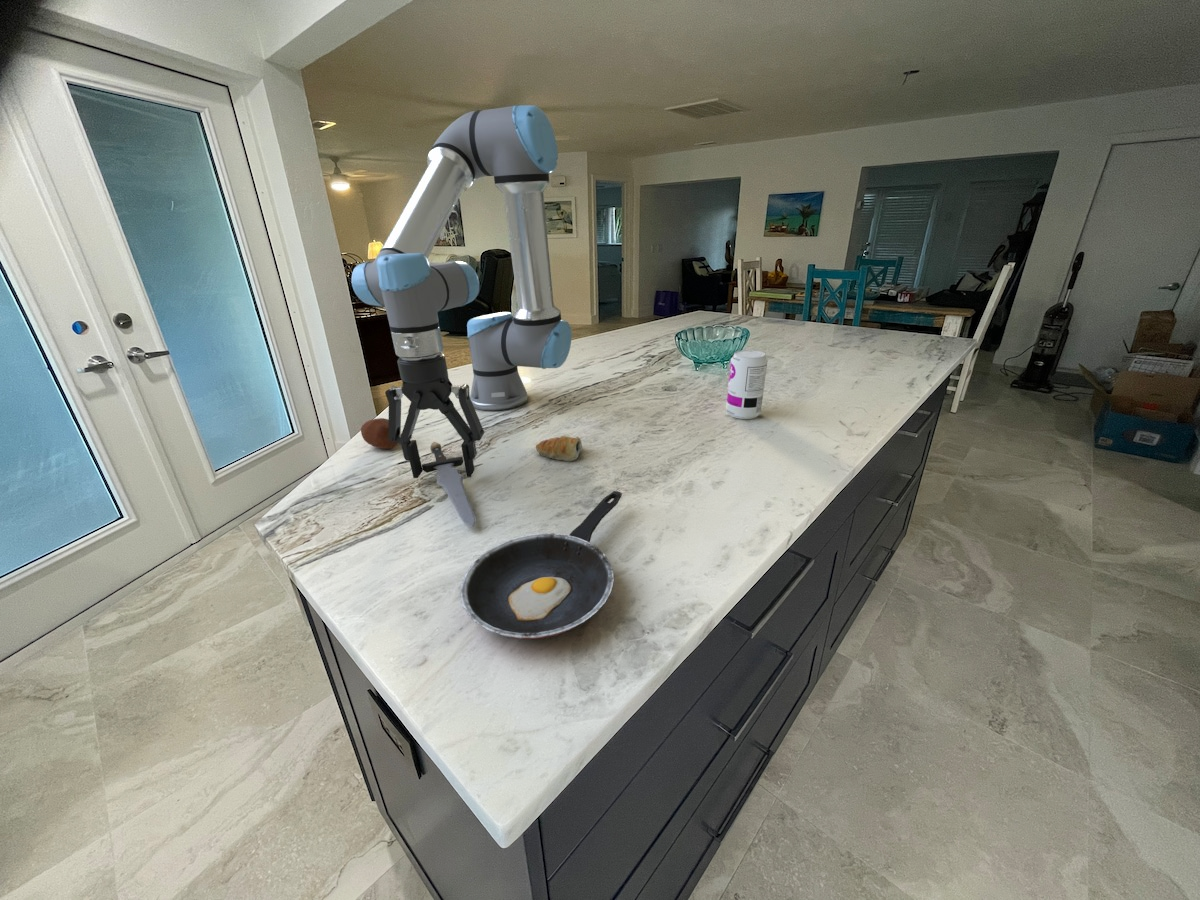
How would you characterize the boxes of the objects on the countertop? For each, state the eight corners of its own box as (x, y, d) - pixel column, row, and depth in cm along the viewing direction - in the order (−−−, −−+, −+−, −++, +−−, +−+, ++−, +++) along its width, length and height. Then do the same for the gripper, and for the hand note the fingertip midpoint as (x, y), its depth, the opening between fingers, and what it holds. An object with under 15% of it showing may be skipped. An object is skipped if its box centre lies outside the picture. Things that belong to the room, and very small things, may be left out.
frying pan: (430, 621, 56) (424, 597, 55) (570, 497, 81) (568, 478, 80) (563, 684, 48) (560, 658, 46) (672, 524, 73) (673, 504, 72)
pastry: (532, 459, 95) (530, 442, 94) (542, 445, 101) (541, 429, 100) (576, 462, 93) (575, 445, 92) (584, 448, 99) (583, 432, 98)
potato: (376, 457, 98) (369, 428, 95) (359, 445, 104) (351, 418, 101) (408, 446, 102) (402, 419, 100) (389, 435, 108) (383, 409, 106)
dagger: (446, 445, 99) (444, 436, 98) (513, 512, 75) (511, 501, 74) (410, 455, 95) (407, 446, 94) (468, 529, 71) (466, 518, 70)
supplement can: (723, 417, 113) (729, 356, 107) (728, 406, 120) (734, 348, 113) (758, 421, 110) (766, 359, 104) (761, 410, 117) (769, 350, 111)
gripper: (343, 362, 74) (377, 485, 84) (481, 359, 73) (498, 483, 83) (365, 351, 81) (394, 465, 91) (491, 347, 80) (506, 463, 90)
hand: (444, 474), depth 87 cm, fingers closed on dagger, 9 cm apart
